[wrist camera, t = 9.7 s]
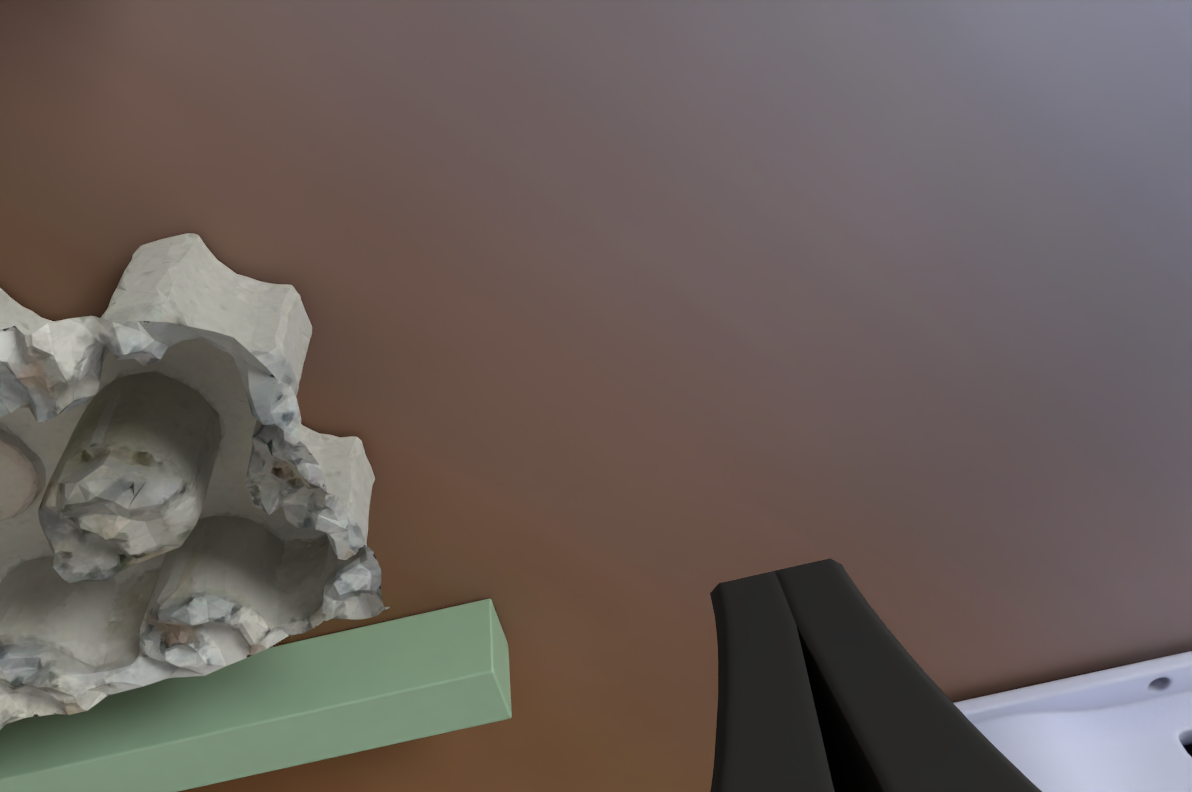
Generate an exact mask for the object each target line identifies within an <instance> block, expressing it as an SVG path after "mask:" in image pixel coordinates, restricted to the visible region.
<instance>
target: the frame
mask: <svg viewBox="0 0 1192 792" xmlns="http://www.w3.org/2000/svg"><path fill="white" fill-rule="evenodd" d="M511 716H512V713H511V693H510V673H509V653H508V643H507V641H506V638H505V635H504V632H503V630H502V627H501V624H500V622H499V619H498V616H497V614H496V611H495V608H494V606H493V603H492V600H491V599H485V600H480V601H476V602H472V603H467V604H463V605H458V606H454V607H449V608H445V609H440V610H436V611H431V612H427V613H422V614H418V615H413V616H409V617H404V618H400V619H396V620H391V621H387V622H382V623H378V624H373V625H369V626H364V627H360V628H355V629H351V630H346V631H342V632H337V633H333V634H328V635H324V636H320V637H315V638H311V639H306V640H302V641H297V642H293V643H288V644H284V645H279V646H275V647H270V648H268V649H266V650H263V651H261V652H259V653H257V654H254V655H252V656H250V657H247V658H245V659H242V660H240V661H237V662H235V663H232V664H230V665H228V666H225V667H223V668H221V669H219V670H216V671H214V672H212V673H210V674H208V675H205V676H193V677H175V678H167V679H164V680H161V681H158V682H155V683H152V684H149V685H146V686H143V687H139V688H135V689H131V690H127V691H124V692H120V693H116V694H112V695H108V696H106V697H105V698H104V699H102V700H101V701H100V702H98V703H97V704H96V705H94V706H93V707H92V708H91V709H89V710H88V711H84V712H80V713H75V714H71V715H64V714H52V715H45V716H38V717H26V718H23V719H20V720H17V721H14V722H11V723H8V724H5V725H4V726H3V728H2V729H1V730H0V792H178V791H183V790H188V789H192V788H197V787H201V786H206V785H210V784H215V783H219V782H224V781H228V780H233V779H238V778H242V777H247V776H251V775H256V774H260V773H265V772H269V771H274V770H278V769H283V768H288V767H292V766H297V765H301V764H306V763H310V762H315V761H319V760H324V759H328V758H333V757H338V756H342V755H347V754H351V753H356V752H360V751H365V750H369V749H374V748H378V747H383V746H388V745H392V744H397V743H401V742H406V741H410V740H415V739H419V738H424V737H428V736H433V735H438V734H442V733H447V732H451V731H456V730H460V729H465V728H469V727H474V726H478V725H483V724H488V723H492V722H497V721H501V720H506V719H510V718H511Z"/></svg>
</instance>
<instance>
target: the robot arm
mask: <svg viewBox="0 0 1192 792" xmlns="http://www.w3.org/2000/svg"><path fill="white" fill-rule="evenodd" d="M710 595H711V599H712V604H713V609H714V614H715V621H716V629H717V641H718V711H717V728H716V744H715V759H714V769H713V778H712V786H711V792H1192V651H1189V652H1184V653H1180V654H1175V655H1171V656H1166V657H1161V658H1157V659H1152V660H1148V661H1143V662H1138V663H1134V664H1129V665H1125V666H1120V667H1115V668H1111V669H1106V670H1102V671H1097V672H1092V673H1088V674H1083V675H1079V676H1074V677H1069V678H1065V679H1060V680H1056V681H1051V682H1046V683H1042V684H1037V685H1033V686H1028V687H1023V688H1019V689H1014V690H1010V691H1005V692H1000V693H996V694H991V695H987V696H982V697H978V698H973V699H968V700H964V701H959V702H955V703H953V702H952V701H951V700H950V699H949V698H948V697H947V696H946V695H945V694H944V692H943V691H942V690H941V689H940V688H939V687H938V686H937V685H936V684H935V683H934V682H933V681H932V679H931V678H930V677H929V676H928V675H927V674H926V673H925V672H924V671H923V669H922V668H921V667H920V666H919V665H918V664H917V663H916V661H915V660H914V659H913V658H912V657H911V656H910V655H909V653H908V652H907V651H906V650H905V649H904V647H903V646H902V645H901V644H900V642H899V641H898V640H897V639H896V638H895V636H894V635H893V634H892V633H891V632H890V630H889V629H888V628H887V627H886V625H885V624H884V623H883V622H882V620H881V619H880V618H879V617H878V615H877V614H876V613H875V611H874V610H873V609H872V608H871V606H870V605H869V604H868V602H867V601H866V600H865V598H864V597H863V595H862V594H861V593H860V591H859V590H858V588H857V587H856V586H855V584H854V583H853V581H852V580H851V578H850V577H849V575H848V574H847V572H846V571H845V569H844V568H843V566H842V564H840V563H838V562H836V561H834V560H832V559H831V558H830V559H826V560H822V561H817V562H813V563H808V564H804V565H799V566H795V567H790V568H786V569H781V570H777V571H772V572H768V573H763V574H759V575H755V576H750V577H746V578H741V579H737V580H732V581H728V582H723V583H719V584H718V585H717V586H716V587H715V589H714V590H713V591H712V592H711V593H710Z"/></svg>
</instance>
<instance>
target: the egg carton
mask: <svg viewBox="0 0 1192 792" xmlns="http://www.w3.org/2000/svg"><path fill="white" fill-rule="evenodd" d="M311 336H312V325H311V323H310V320H309V318H308V316H307V314H306V311H305V309H304V306H303V304H302V301H301V295H299V294H298V293H297V291H296V290H295V288H294V287H293V285H287V284H272V283H266V282H261V281H258V280H255V279H253V278H250V277H247V276H243V275H238V274H236V273H235V272H233V271H232V270H231V269H229V268H228V267H227V266H225V265H224V264H222V263H221V262H220V261H218V260H217V259H216V258H215V256H214V255H213V254H212V253H211V252H210V250H209V249H208V248H207V247H206V245H205V244H204V242H203V241H202V239H201V238H200V236H199V235H196V234H194V233H186V234H182V235H177V236H173V237H169V238H164V239H160V240H157V241H154V242H151V243H147V244H144V245H141V246H140V247H139V248H138V249H137V250H136V252H135V253H134V254H133V255H132V260H131V261H130V263H129V264H128V266H127V268H126V269H125V271H124V273H123V275H122V277H121V279H120V281H119V284H118V286H117V288H116V290H115V292H114V294H113V296H112V298H111V300H110V303H109V306H108V308H107V310H106V311H105V313H104V314H103V315H102V317H101V318H98V317H95V316H87V317H79V318H70V319H65V320H60V321H55V322H54V321H51V320H48V319H45V318H41V317H40V316H39V315H37V314H36V313H35V312H33V311H31V310H29V309H27V308H25V307H23V306H21V305H20V304H19V303H17V302H16V301H15V300H13V299H12V298H11V297H10V296H9V295H8V294H7V293H5V292H4V291H3V290H2V289H1V288H0V730H1V729H2V728H3V726H4V725H5V724H8V723H11V722H14V721H17V720H20V719H23V718H26V717H38V716H45V715H52V714H64V715H71V714H75V713H80V712H84V711H88V710H89V709H91V708H92V707H93V706H94V705H96V704H97V703H98V702H100V701H101V700H102V699H104V698H105V697H106V696H108V695H112V694H116V693H120V692H124V691H127V690H131V689H135V688H139V687H143V686H146V685H149V684H152V683H155V682H158V681H161V680H164V679H167V678H175V677H193V676H205V675H208V674H210V673H212V672H214V671H216V670H219V669H221V668H223V667H225V666H228V665H230V664H232V663H235V662H237V661H240V660H242V659H245V658H247V657H250V656H252V655H254V654H257V653H259V652H261V651H263V650H266V649H268V648H270V647H271V646H273V645H274V644H276V643H278V642H279V641H281V640H283V639H284V638H286V637H288V636H290V635H296V634H302V633H305V632H307V631H309V630H311V629H313V628H315V627H317V626H318V625H319V624H321V623H322V622H323V621H325V620H326V621H328V620H330V619H352V620H361V619H366V618H371V617H375V616H377V615H378V614H380V613H381V612H382V611H383V610H387V609H388V608H390V607H384V605H383V603H382V595H381V579H382V578H381V568H380V566H379V564H378V561H377V559H376V557H375V555H374V552H373V550H371V549H370V548H369V547H367V541H366V540H367V534H368V518H369V507H370V500H371V492H372V486H373V483H374V481H375V477H374V474H373V471H372V468H371V465H370V463H369V461H368V459H367V457H366V455H365V451H364V448H363V444H362V441H361V440H360V439H359V438H358V437H356V436H349V437H340V438H339V437H336V436H333V435H329V434H320V433H318V432H316V431H313V430H311V429H309V428H307V427H305V426H303V425H302V424H301V422H302V419H301V415H300V411H299V407H298V402H297V398H296V395H297V393H298V390H299V381H300V379H301V374H302V369H303V364H304V361H305V358H306V353H307V349H308V345H309V342H310V338H311Z"/></svg>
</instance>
